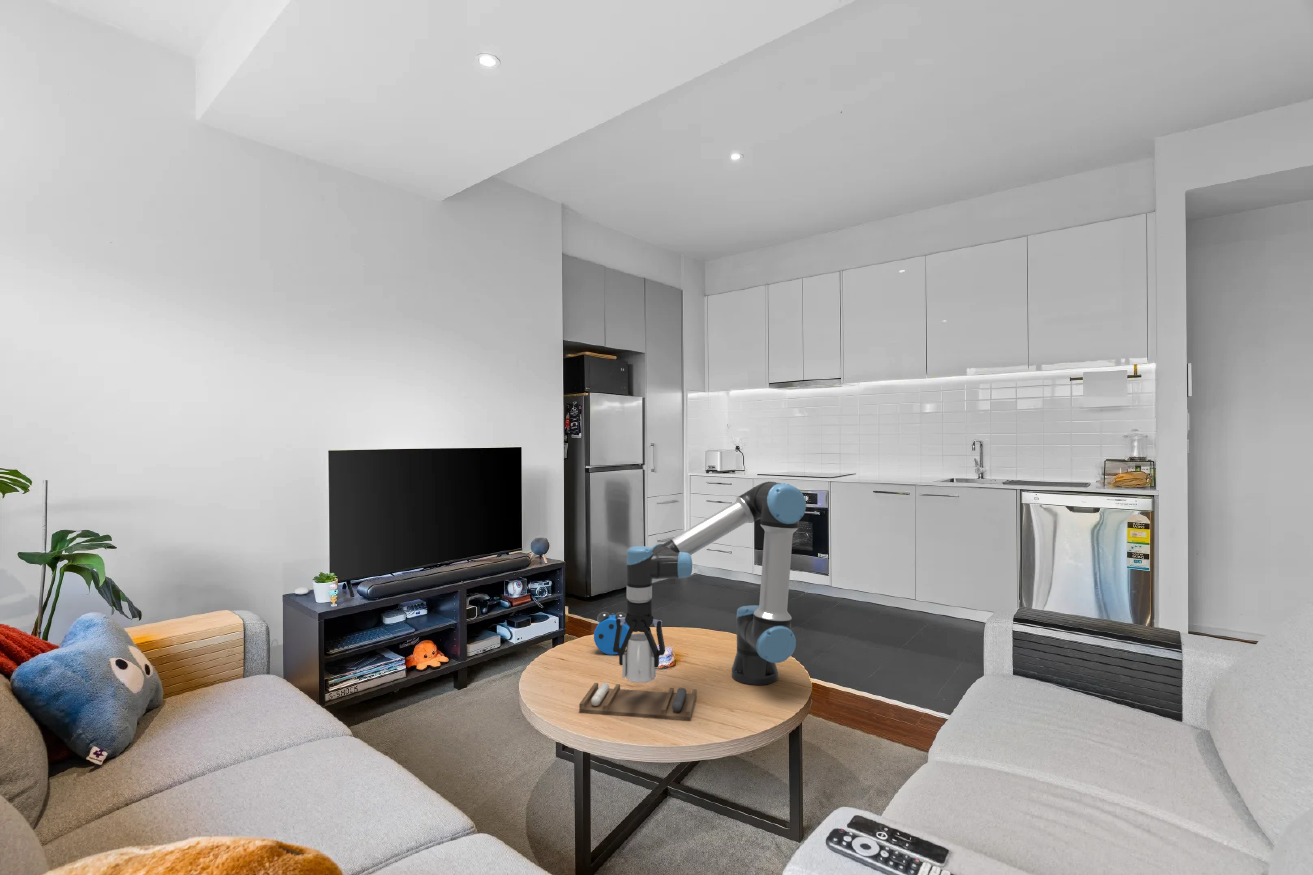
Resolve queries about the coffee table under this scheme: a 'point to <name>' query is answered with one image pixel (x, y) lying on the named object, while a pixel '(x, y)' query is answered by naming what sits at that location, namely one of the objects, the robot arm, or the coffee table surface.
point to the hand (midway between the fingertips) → (639, 676)
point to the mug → (638, 659)
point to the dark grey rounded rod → (679, 699)
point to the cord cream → (600, 694)
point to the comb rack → (639, 703)
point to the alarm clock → (609, 632)
